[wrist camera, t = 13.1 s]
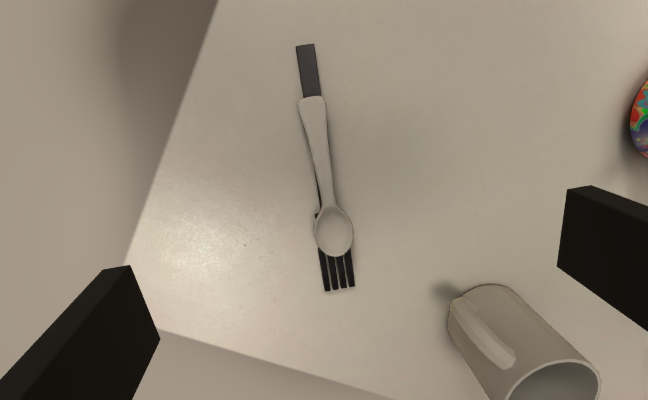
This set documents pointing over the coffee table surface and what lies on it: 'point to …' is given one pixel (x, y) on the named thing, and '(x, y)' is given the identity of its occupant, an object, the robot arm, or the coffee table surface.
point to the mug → (640, 121)
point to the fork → (313, 89)
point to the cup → (517, 349)
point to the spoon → (325, 181)
